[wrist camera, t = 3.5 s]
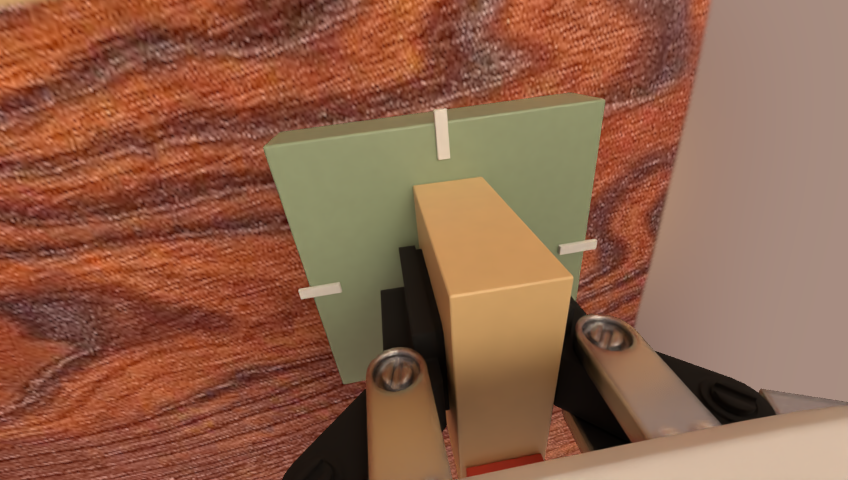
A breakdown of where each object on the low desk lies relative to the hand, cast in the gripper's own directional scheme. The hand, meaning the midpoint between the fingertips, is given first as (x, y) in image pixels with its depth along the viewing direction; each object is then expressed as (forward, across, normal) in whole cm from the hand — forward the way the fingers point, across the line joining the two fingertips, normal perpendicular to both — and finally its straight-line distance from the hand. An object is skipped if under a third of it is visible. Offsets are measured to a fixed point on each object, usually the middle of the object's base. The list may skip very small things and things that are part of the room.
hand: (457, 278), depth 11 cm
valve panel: (+3, 0, 0) cm, 3 cm away
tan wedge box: (+1, 0, 0) cm, 1 cm away
